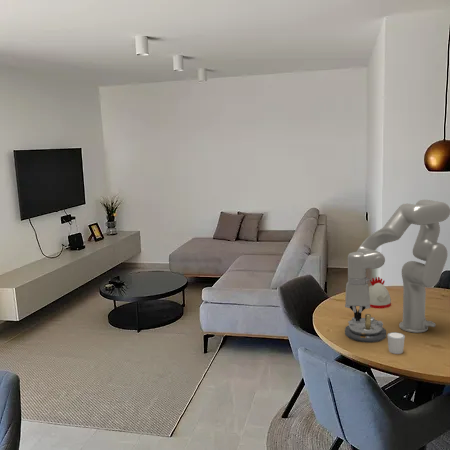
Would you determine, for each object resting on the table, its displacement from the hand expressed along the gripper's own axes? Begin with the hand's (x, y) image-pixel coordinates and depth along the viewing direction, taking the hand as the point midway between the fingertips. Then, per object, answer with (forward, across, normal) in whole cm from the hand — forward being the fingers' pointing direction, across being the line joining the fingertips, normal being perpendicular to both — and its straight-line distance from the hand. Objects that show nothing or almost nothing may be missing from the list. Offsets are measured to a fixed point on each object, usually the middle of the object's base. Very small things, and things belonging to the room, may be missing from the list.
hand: (357, 320), depth 214 cm
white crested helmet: (+10, -8, -48) cm, 50 cm away
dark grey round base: (+9, -3, -6) cm, 11 cm away
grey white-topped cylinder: (+9, -16, +10) cm, 20 cm away
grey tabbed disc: (+7, -3, -6) cm, 9 cm away
